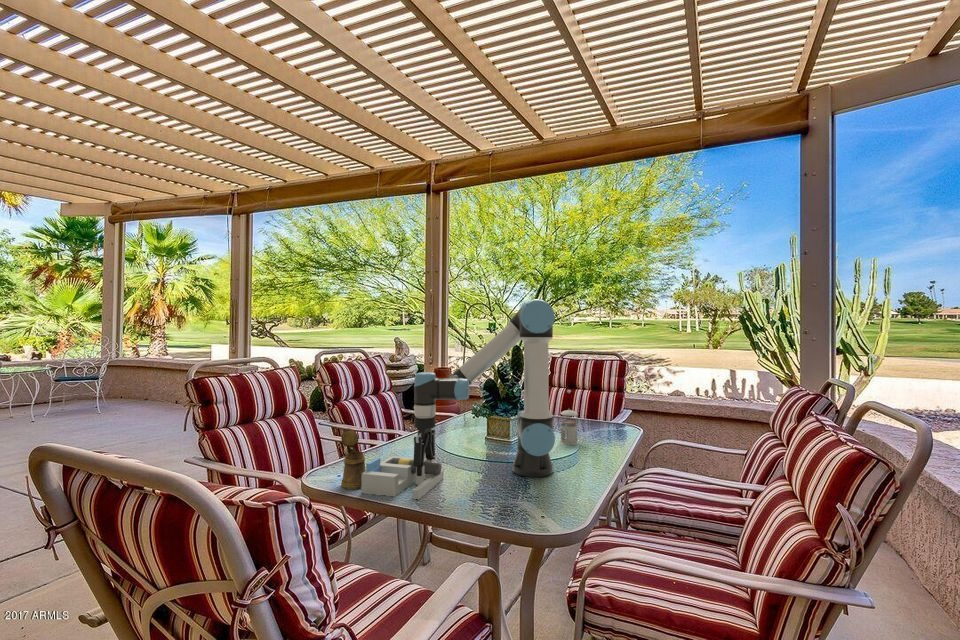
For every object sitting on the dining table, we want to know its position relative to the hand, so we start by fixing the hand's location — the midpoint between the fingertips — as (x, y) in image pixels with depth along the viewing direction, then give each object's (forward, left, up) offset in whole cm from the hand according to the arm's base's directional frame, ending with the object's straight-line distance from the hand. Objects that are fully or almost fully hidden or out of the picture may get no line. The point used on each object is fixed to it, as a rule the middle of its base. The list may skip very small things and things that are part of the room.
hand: (424, 481), depth 168 cm
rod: (+3, 0, +3) cm, 4 cm away
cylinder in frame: (+5, +6, 0) cm, 8 cm away
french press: (-43, -73, 0) cm, 85 cm away
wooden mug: (+23, +9, 0) cm, 25 cm away
